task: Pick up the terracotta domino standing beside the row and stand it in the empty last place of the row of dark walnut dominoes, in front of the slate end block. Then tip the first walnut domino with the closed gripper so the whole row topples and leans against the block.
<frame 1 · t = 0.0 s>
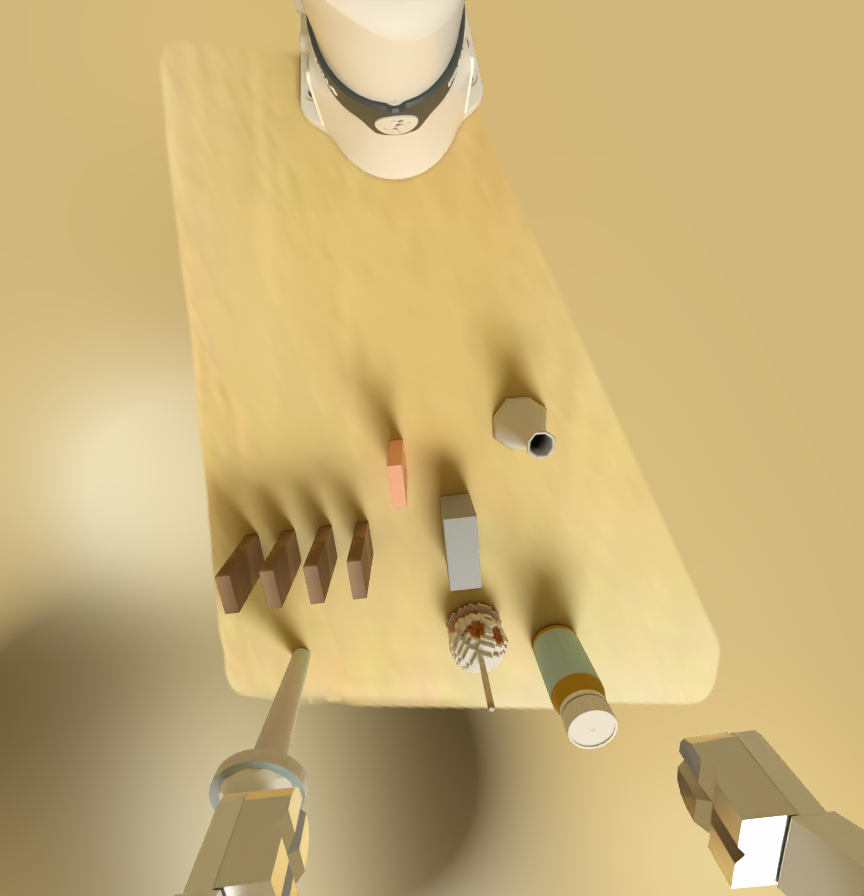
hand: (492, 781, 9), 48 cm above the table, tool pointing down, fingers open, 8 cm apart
domino 4: (364, 538, 61), on the table
domino 1: (255, 550, 60), on the table
domino 2: (292, 546, 61), on the table
domino 3: (328, 542, 61), on the table
bottle: (553, 640, 68), on the table
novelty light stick: (302, 653, 66), on the table
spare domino: (398, 458, 58), on the table
decorative ornament: (473, 622, 66), on the table
flask: (518, 422, 57), on the table
end block: (457, 528, 61), on the table
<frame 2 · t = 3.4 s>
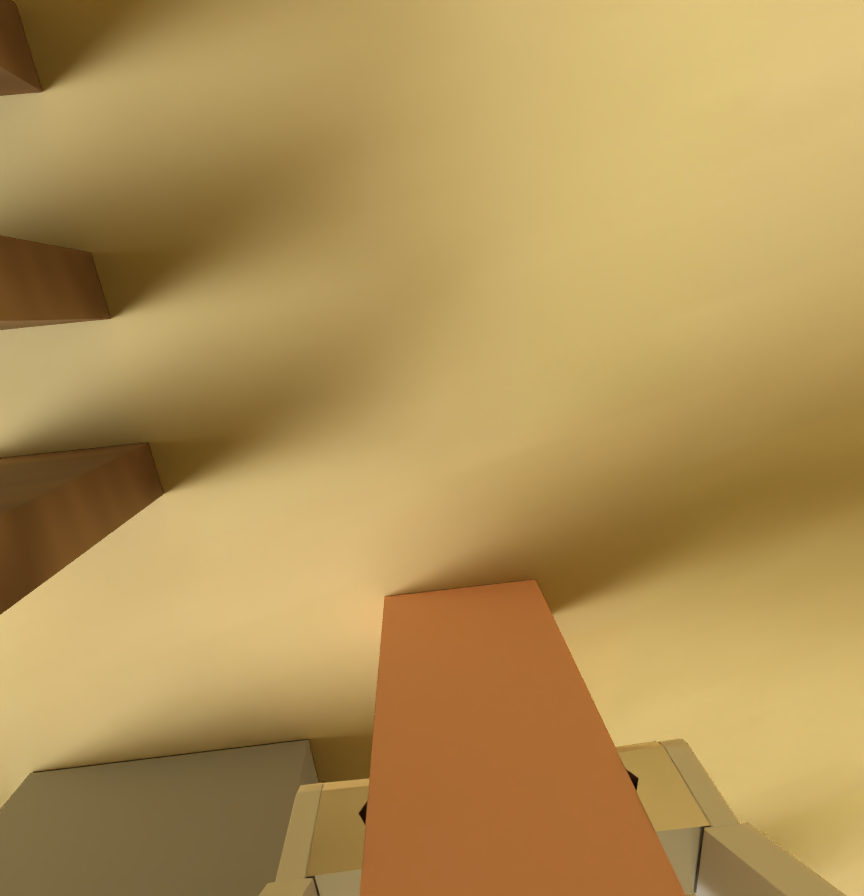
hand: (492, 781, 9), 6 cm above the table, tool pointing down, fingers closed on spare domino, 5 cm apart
domino 4: (68, 478, 13), on the table
domino 3: (2, 296, 11), on the table
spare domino: (462, 608, 15), on the table, touching gripper
end block: (184, 796, 17), on the table
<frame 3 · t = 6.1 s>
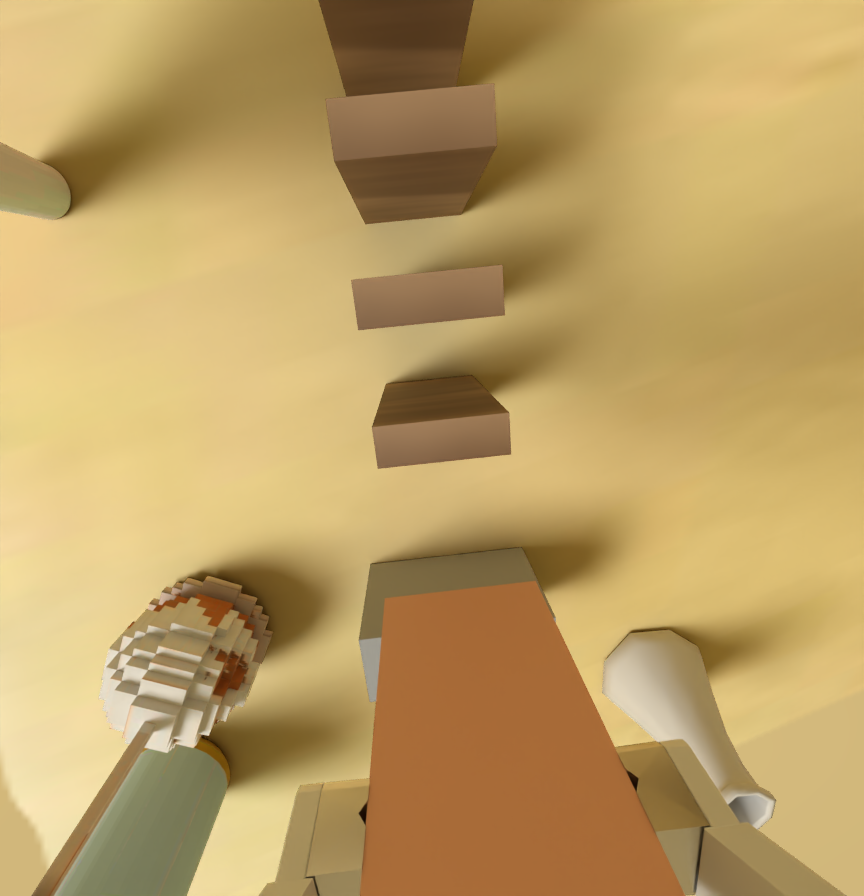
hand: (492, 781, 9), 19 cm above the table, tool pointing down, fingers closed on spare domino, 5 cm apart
domino 4: (430, 393, 26), on the table
domino 1: (400, 86, 21), on the table
domino 2: (411, 202, 23), on the table
domino 3: (421, 303, 24), on the table
bottle: (187, 761, 33), on the table
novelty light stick: (48, 193, 22), on the table
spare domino: (462, 609, 15), point 13 cm above the table, touching gripper
decorative ornament: (215, 621, 30), on the table
flask: (646, 664, 33), on the table
end block: (448, 581, 30), on the table
when the fingers open (7 cm above the table, at t = 8.6 s): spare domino stays where it is, on the table.
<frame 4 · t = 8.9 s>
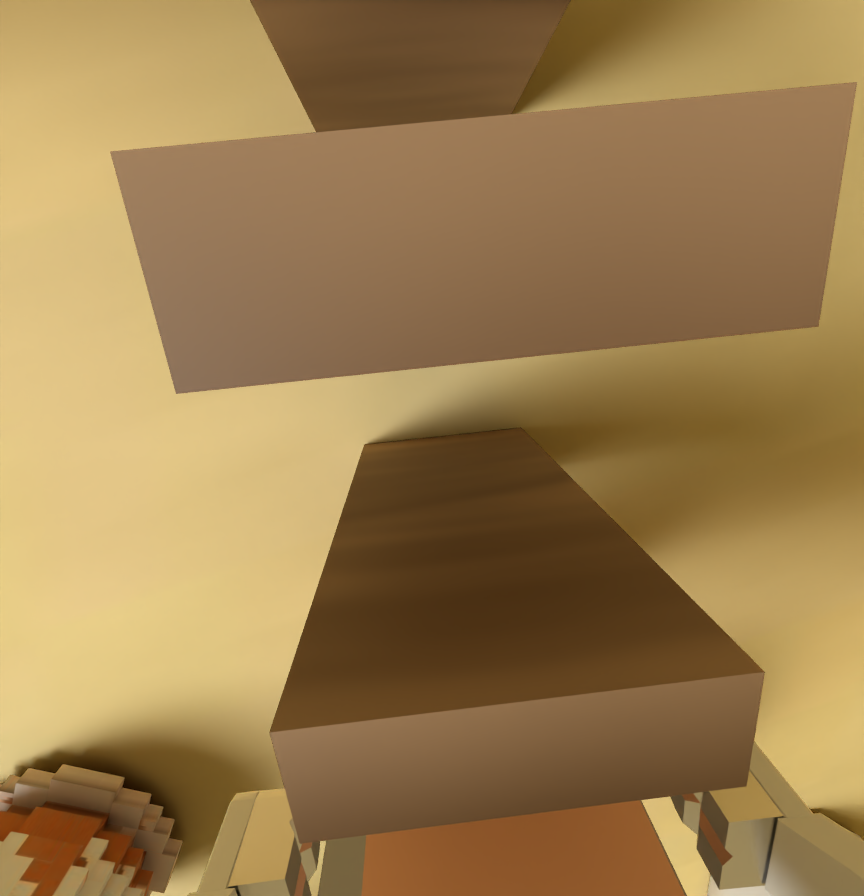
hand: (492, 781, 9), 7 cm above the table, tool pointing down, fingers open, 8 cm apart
domino 4: (445, 459, 14), on the table
domino 2: (410, 90, 11), on the table
domino 3: (430, 296, 13), on the table
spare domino: (459, 592, 16), on the table
decorative ornament: (90, 818, 18), on the table
flask: (773, 856, 21), on the table
end block: (473, 756, 18), on the table
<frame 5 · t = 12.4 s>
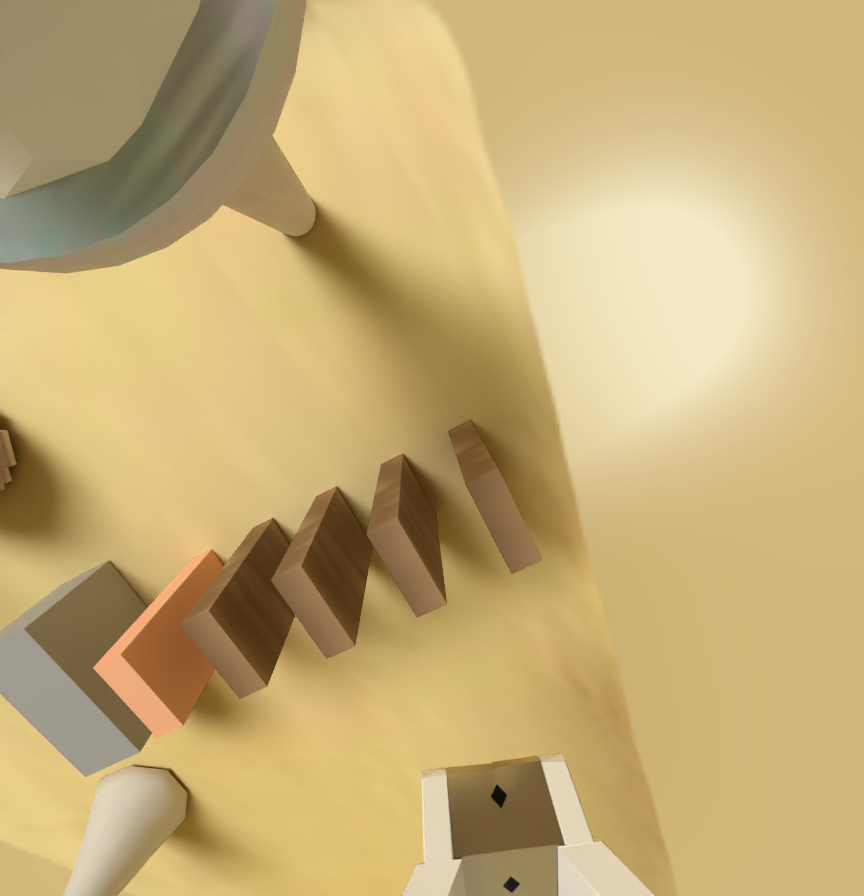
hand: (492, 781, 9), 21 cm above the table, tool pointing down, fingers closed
domino 4: (282, 551, 31), on the table
domino 1: (475, 457, 30), on the table
domino 2: (409, 489, 30), on the table
domino 3: (345, 521, 31), on the table
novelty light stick: (294, 213, 25), on the table
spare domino: (222, 581, 31), on the table
flask: (147, 792, 37), on the table
end block: (130, 626, 32), on the table
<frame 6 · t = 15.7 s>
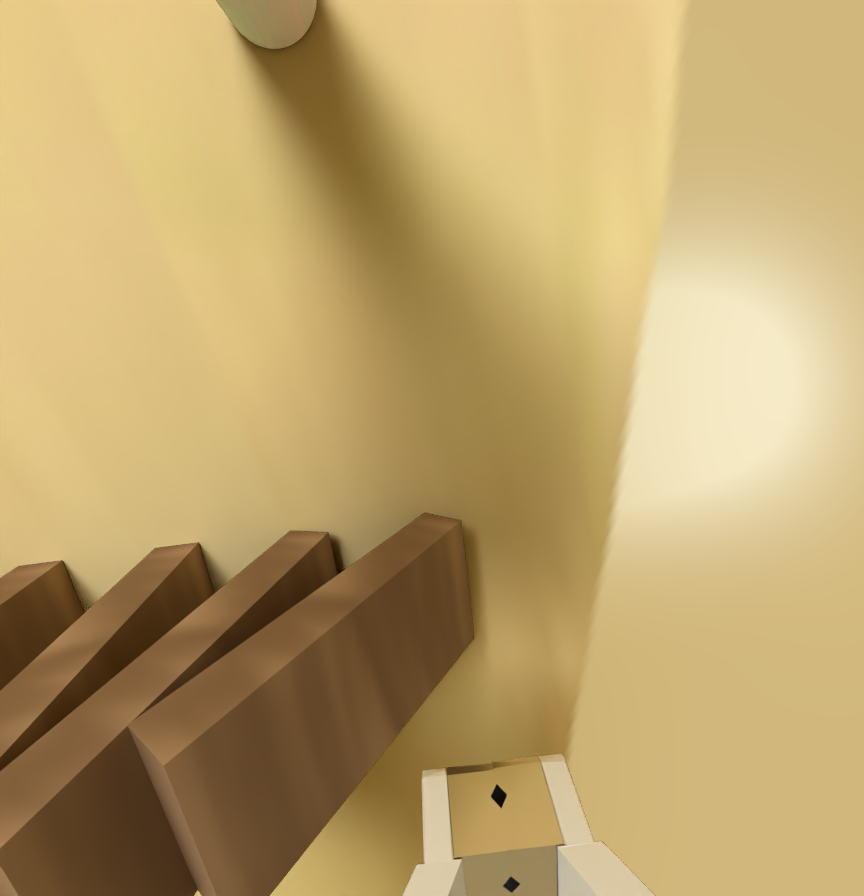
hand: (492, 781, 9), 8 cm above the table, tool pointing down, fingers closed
domino 4: (65, 620, 17), on the table
domino 1: (449, 576, 17), on the table, tilted 38°, touching domino 2
domino 2: (322, 590, 17), on the table, tilted 20°, touching domino 1, domino 3
domino 3: (195, 602, 17), on the table, touching domino 2
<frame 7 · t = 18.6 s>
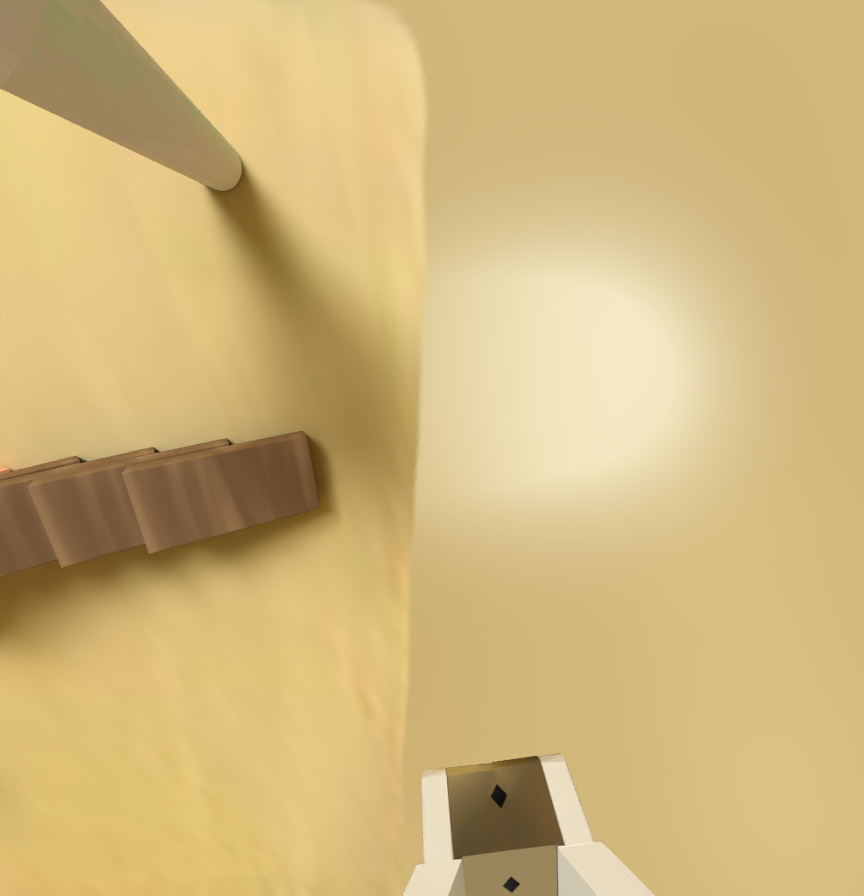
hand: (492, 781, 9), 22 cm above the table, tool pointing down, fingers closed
domino 4: (90, 493, 29), point 1 cm above the table, tilted 48°, touching domino 3, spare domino
domino 1: (311, 469, 29), point 1 cm above the table, tilted 67°, touching domino 2
domino 2: (236, 476, 29), point 1 cm above the table, tilted 64°, touching domino 1, domino 3
domino 3: (164, 485, 29), point 1 cm above the table, tilted 58°, touching domino 2, domino 4
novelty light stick: (220, 167, 25), on the table
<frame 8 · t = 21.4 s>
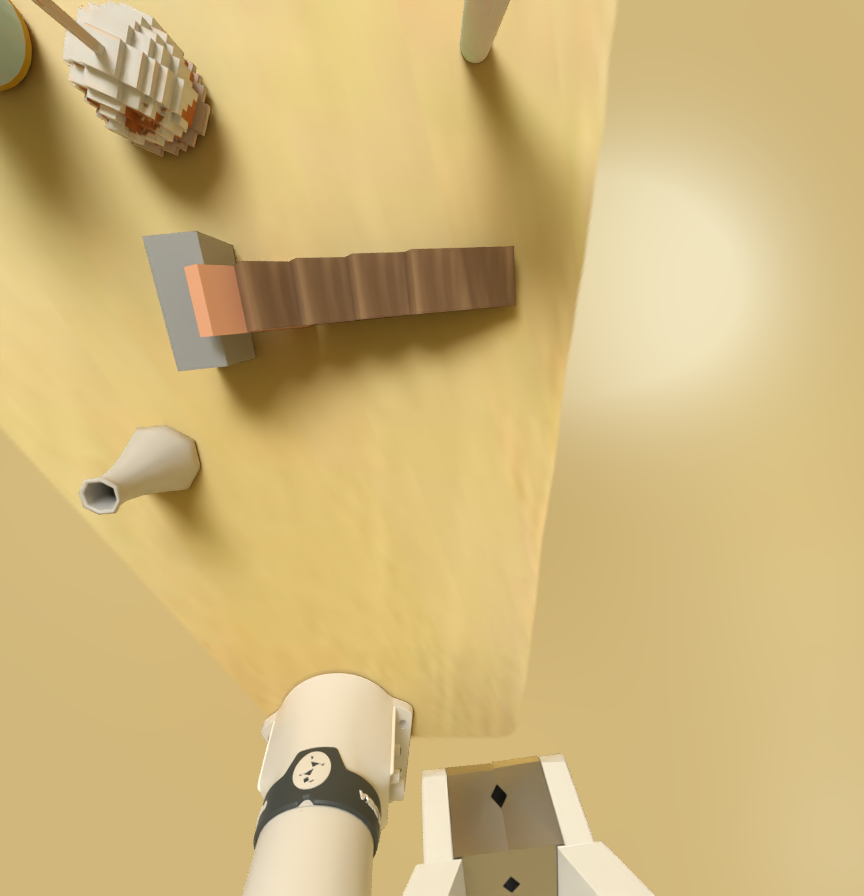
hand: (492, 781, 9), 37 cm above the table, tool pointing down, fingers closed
domino 4: (351, 292, 41), point 1 cm above the table, tilted 48°, touching domino 3, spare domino
domino 1: (509, 277, 41), point 1 cm above the table, tilted 67°, touching domino 2
domino 2: (456, 281, 41), point 1 cm above the table, tilted 64°, touching domino 1, domino 3
domino 3: (404, 287, 41), point 1 cm above the table, tilted 58°, touching domino 2, domino 4
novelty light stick: (474, 46, 36), on the table
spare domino: (298, 299, 41), on the table, tilted 32°, touching domino 4, end block
decorative ornament: (164, 104, 36), on the table
flask: (166, 457, 45), on the table
end block: (223, 305, 41), on the table
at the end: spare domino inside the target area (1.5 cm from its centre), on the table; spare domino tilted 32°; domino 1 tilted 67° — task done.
